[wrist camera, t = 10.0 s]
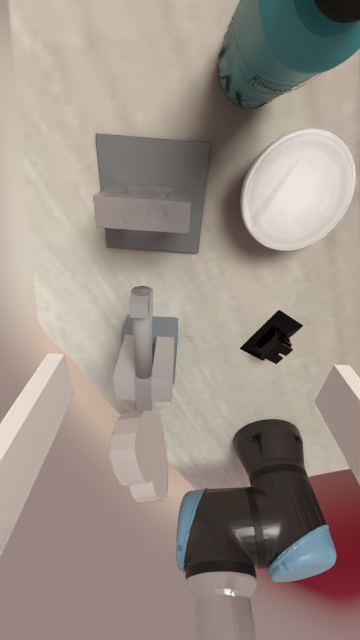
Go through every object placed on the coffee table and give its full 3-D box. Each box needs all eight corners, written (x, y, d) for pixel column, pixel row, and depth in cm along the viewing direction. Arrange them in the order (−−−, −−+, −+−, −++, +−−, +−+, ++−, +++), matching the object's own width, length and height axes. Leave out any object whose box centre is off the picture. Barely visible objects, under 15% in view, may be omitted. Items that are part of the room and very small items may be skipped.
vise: (174, 363, 46) (172, 437, 34) (130, 361, 45) (113, 435, 34) (183, 250, 34) (184, 305, 22) (123, 246, 33) (92, 300, 22)
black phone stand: (259, 365, 47) (266, 384, 43) (228, 349, 44) (233, 368, 41) (312, 319, 41) (325, 337, 37) (280, 298, 38) (291, 314, 35)
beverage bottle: (210, 27, 22) (296, -317, 6) (287, 5, 21) (640, -464, 5) (218, 119, 26) (284, 71, 9) (284, 103, 25) (482, 20, 9)
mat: (197, 251, 34) (198, 253, 33) (108, 245, 33) (107, 247, 33) (209, 142, 27) (210, 142, 26) (97, 133, 26) (95, 133, 26)
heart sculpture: (125, 362, 46) (98, 466, 31) (151, 357, 45) (137, 461, 30) (151, 412, 54) (140, 513, 39) (174, 409, 53) (171, 510, 39)
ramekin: (237, 134, 27) (248, 132, 22) (344, 127, 26) (376, 124, 22) (230, 239, 33) (237, 254, 29) (316, 235, 33) (336, 249, 28)
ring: (186, 210, 30) (188, 233, 22) (119, 205, 30) (96, 227, 22) (188, 186, 29) (191, 202, 21) (118, 181, 28) (92, 195, 20)
